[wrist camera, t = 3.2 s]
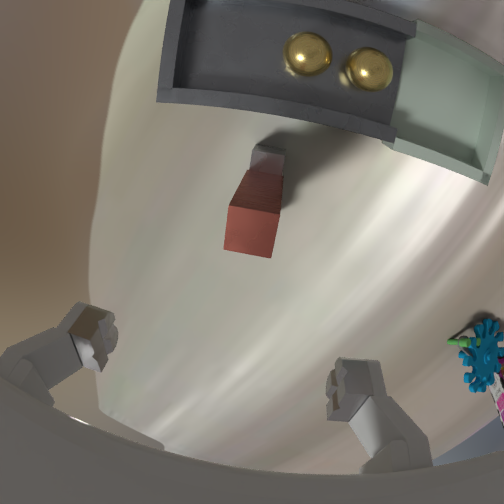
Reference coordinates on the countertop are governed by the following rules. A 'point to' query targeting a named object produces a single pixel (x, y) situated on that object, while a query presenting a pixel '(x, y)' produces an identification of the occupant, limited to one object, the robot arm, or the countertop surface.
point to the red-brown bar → (257, 204)
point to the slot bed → (280, 60)
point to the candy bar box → (499, 390)
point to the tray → (449, 104)
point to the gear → (481, 354)
